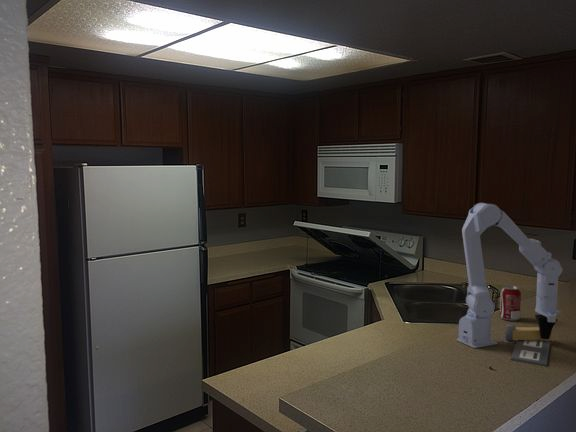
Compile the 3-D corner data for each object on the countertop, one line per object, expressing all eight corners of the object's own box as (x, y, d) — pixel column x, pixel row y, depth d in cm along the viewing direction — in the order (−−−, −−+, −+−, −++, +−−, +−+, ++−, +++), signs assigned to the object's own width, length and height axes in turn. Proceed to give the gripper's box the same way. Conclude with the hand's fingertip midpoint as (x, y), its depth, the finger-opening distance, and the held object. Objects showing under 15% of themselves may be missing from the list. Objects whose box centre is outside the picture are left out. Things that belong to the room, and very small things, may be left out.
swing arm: (508, 341, 150) (508, 327, 150) (503, 338, 153) (503, 324, 153) (551, 341, 151) (552, 327, 150) (545, 337, 154) (546, 324, 154)
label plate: (546, 366, 132) (546, 363, 132) (495, 357, 138) (495, 354, 138) (550, 343, 151) (550, 340, 151) (505, 336, 157) (505, 333, 157)
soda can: (523, 321, 173) (524, 289, 172) (504, 321, 173) (505, 289, 172) (514, 316, 180) (515, 285, 179) (496, 316, 180) (497, 285, 179)
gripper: (568, 302, 140) (565, 347, 141) (554, 291, 154) (552, 332, 155) (541, 300, 142) (539, 345, 143) (530, 290, 156) (529, 330, 157)
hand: (544, 338), depth 149 cm, fingers closed
